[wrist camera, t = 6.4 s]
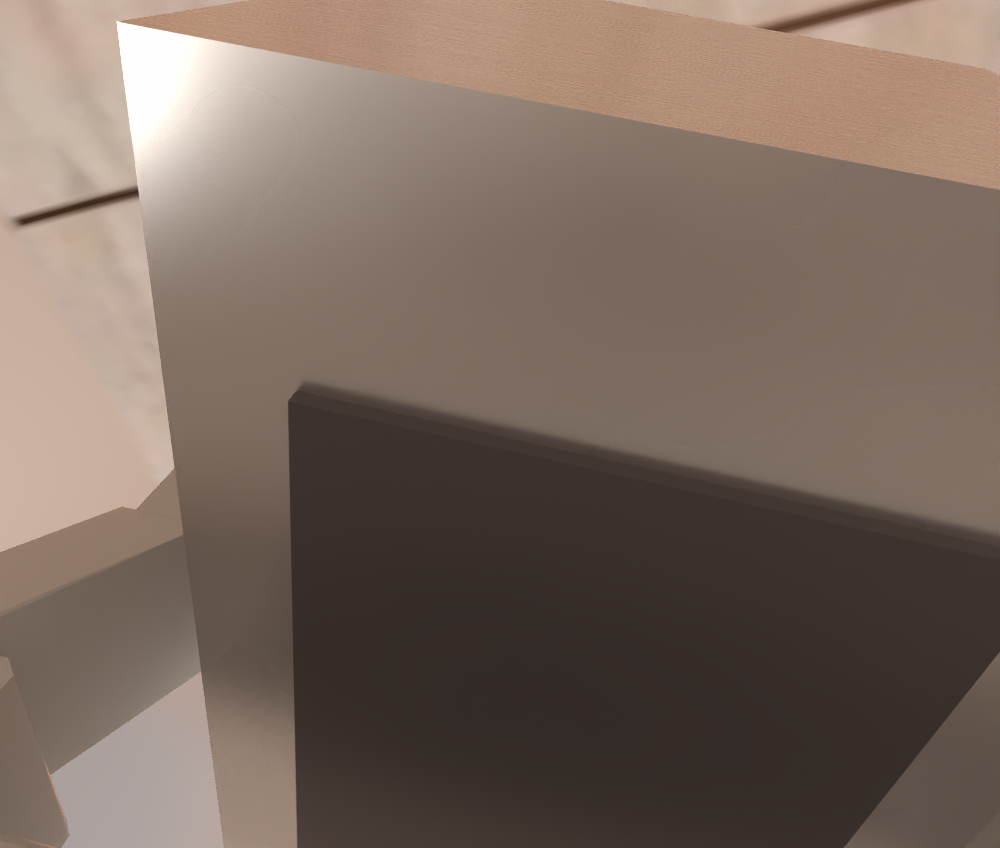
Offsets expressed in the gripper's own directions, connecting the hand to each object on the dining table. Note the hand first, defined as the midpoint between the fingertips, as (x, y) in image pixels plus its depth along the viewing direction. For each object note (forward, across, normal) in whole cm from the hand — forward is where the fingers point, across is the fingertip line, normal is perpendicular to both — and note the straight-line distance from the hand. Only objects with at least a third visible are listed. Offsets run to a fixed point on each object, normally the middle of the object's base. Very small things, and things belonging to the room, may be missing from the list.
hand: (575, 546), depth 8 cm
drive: (+2, 0, 0) cm, 2 cm away
